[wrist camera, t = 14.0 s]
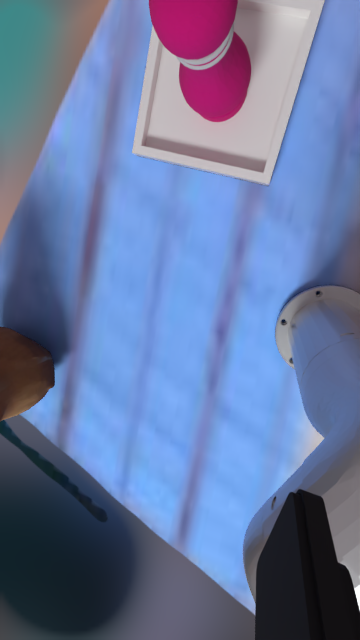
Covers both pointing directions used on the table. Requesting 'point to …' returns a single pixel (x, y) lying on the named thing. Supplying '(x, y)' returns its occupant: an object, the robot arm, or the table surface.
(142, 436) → the table surface
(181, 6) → the pepper mill
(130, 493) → the table surface
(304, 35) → the tray
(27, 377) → the butternut squash
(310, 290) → the robot arm
